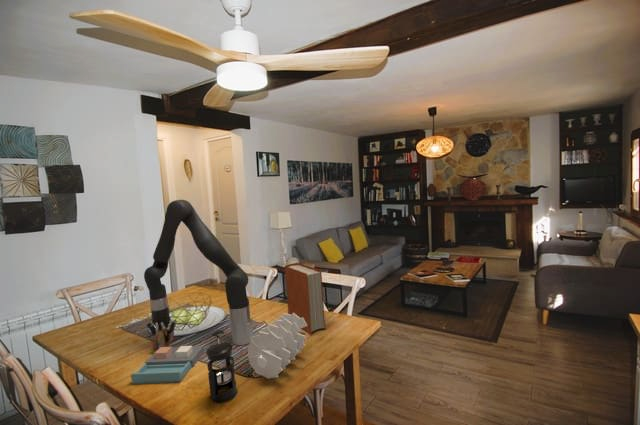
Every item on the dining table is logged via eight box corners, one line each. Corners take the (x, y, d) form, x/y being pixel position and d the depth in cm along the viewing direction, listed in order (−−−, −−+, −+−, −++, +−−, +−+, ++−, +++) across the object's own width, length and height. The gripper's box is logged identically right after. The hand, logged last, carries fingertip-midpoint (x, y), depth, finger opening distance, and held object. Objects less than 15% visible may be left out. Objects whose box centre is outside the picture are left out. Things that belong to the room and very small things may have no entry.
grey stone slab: (204, 352, 150) (203, 345, 149) (192, 367, 138) (192, 360, 137) (160, 354, 151) (159, 347, 150) (145, 369, 139) (144, 362, 138)
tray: (191, 367, 138) (190, 358, 137) (180, 382, 128) (179, 372, 127) (146, 369, 138) (145, 360, 138) (132, 384, 128) (131, 374, 128)
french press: (220, 383, 125) (214, 324, 123) (243, 386, 122) (237, 326, 120) (201, 404, 114) (194, 340, 111) (226, 407, 111) (219, 341, 109)
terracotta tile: (172, 352, 145) (171, 346, 145) (166, 358, 140) (166, 352, 140) (161, 352, 146) (160, 347, 145) (155, 358, 141) (154, 353, 140)
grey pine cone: (254, 389, 126) (286, 353, 149) (290, 378, 119) (317, 342, 142) (232, 346, 127) (267, 317, 150) (266, 333, 120) (297, 304, 142)
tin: (159, 354, 150) (158, 336, 149) (152, 354, 150) (151, 336, 149) (174, 338, 165) (174, 322, 164) (168, 338, 165) (167, 322, 164)
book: (325, 330, 163) (321, 270, 160) (311, 335, 159) (306, 274, 156) (301, 316, 182) (297, 262, 179) (288, 320, 178) (283, 265, 175)
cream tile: (192, 351, 145) (192, 345, 145) (187, 357, 140) (187, 351, 140) (181, 351, 145) (180, 346, 145) (176, 357, 140) (175, 352, 140)
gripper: (178, 303, 159) (182, 337, 161) (149, 304, 160) (154, 339, 161) (170, 309, 152) (174, 345, 153) (140, 310, 152) (145, 347, 154)
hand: (164, 342), depth 157 cm, fingers closed on tin, 2 cm apart
